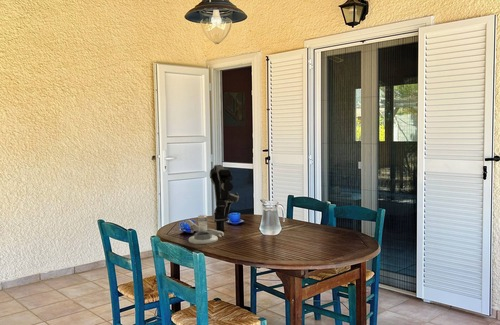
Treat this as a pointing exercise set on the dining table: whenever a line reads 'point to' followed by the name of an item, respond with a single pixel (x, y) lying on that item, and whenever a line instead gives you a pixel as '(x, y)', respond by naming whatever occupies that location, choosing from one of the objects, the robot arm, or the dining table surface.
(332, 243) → the dining table surface
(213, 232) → the wrench
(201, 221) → the piston
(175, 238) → the dining table surface
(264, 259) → the dining table surface
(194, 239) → the white and grey disc
